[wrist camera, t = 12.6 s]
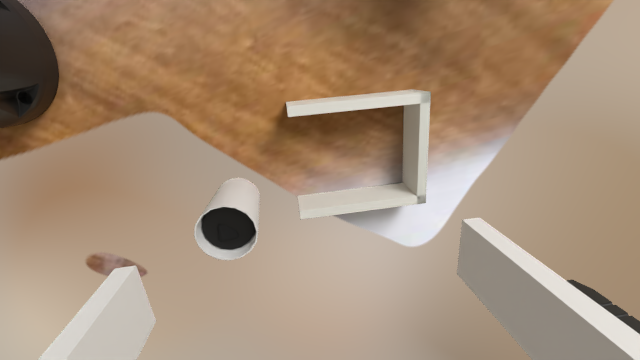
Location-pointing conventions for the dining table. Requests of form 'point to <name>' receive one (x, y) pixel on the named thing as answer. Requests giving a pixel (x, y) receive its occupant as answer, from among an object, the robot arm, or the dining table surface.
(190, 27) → the dining table surface
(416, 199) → the u-shaped frame
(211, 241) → the white cup
